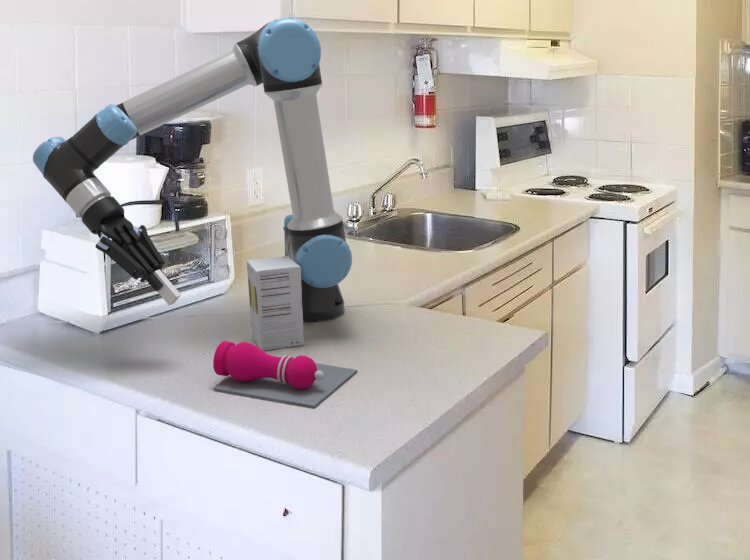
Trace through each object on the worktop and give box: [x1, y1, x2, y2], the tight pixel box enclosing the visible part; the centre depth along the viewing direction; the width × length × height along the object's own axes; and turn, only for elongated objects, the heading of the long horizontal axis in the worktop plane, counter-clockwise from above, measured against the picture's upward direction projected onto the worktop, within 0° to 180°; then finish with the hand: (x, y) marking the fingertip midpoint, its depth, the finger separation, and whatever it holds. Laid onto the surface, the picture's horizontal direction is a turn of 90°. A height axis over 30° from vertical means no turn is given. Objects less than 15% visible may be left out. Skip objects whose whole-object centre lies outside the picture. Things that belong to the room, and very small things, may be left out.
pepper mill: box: [212, 340, 324, 389], centre depth 151 cm, size 7×7×20 cm
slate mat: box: [213, 362, 358, 409], centre depth 155 cm, size 20×18×1 cm
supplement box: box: [246, 255, 305, 352], centre depth 173 cm, size 10×9×17 cm
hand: (175, 300), depth 160 cm, fingers closed
